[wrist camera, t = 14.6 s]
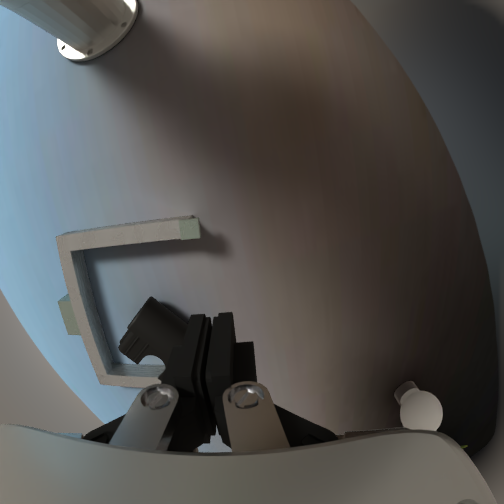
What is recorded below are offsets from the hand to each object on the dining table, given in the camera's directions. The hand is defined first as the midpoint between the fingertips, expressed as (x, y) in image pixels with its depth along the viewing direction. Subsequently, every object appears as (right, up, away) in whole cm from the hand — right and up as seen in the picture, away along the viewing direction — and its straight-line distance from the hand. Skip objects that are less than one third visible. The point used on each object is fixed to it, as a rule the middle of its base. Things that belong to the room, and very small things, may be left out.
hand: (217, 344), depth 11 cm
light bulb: (+27, -19, +29) cm, 44 cm away
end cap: (-9, -6, +25) cm, 27 cm away
